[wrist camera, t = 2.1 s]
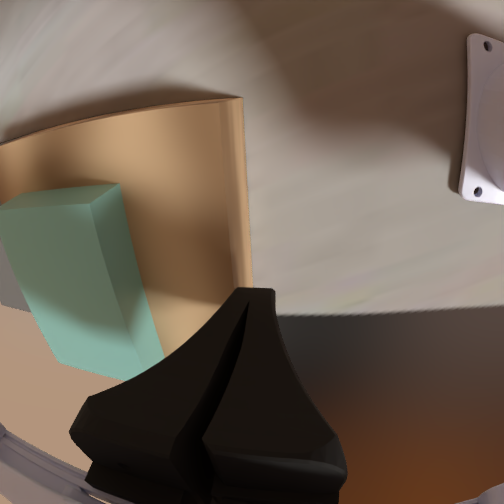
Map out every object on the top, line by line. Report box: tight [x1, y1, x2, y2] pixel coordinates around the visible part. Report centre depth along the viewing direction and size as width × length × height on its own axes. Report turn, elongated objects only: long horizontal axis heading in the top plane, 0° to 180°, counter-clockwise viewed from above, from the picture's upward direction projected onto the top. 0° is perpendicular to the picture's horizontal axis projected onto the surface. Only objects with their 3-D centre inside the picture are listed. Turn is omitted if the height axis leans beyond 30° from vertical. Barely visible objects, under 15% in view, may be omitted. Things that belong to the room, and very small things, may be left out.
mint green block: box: [0, 183, 165, 381], centre depth 13 cm, size 6×9×2 cm, turn 3°
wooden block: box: [0, 98, 253, 358], centre depth 15 cm, size 12×14×4 cm
